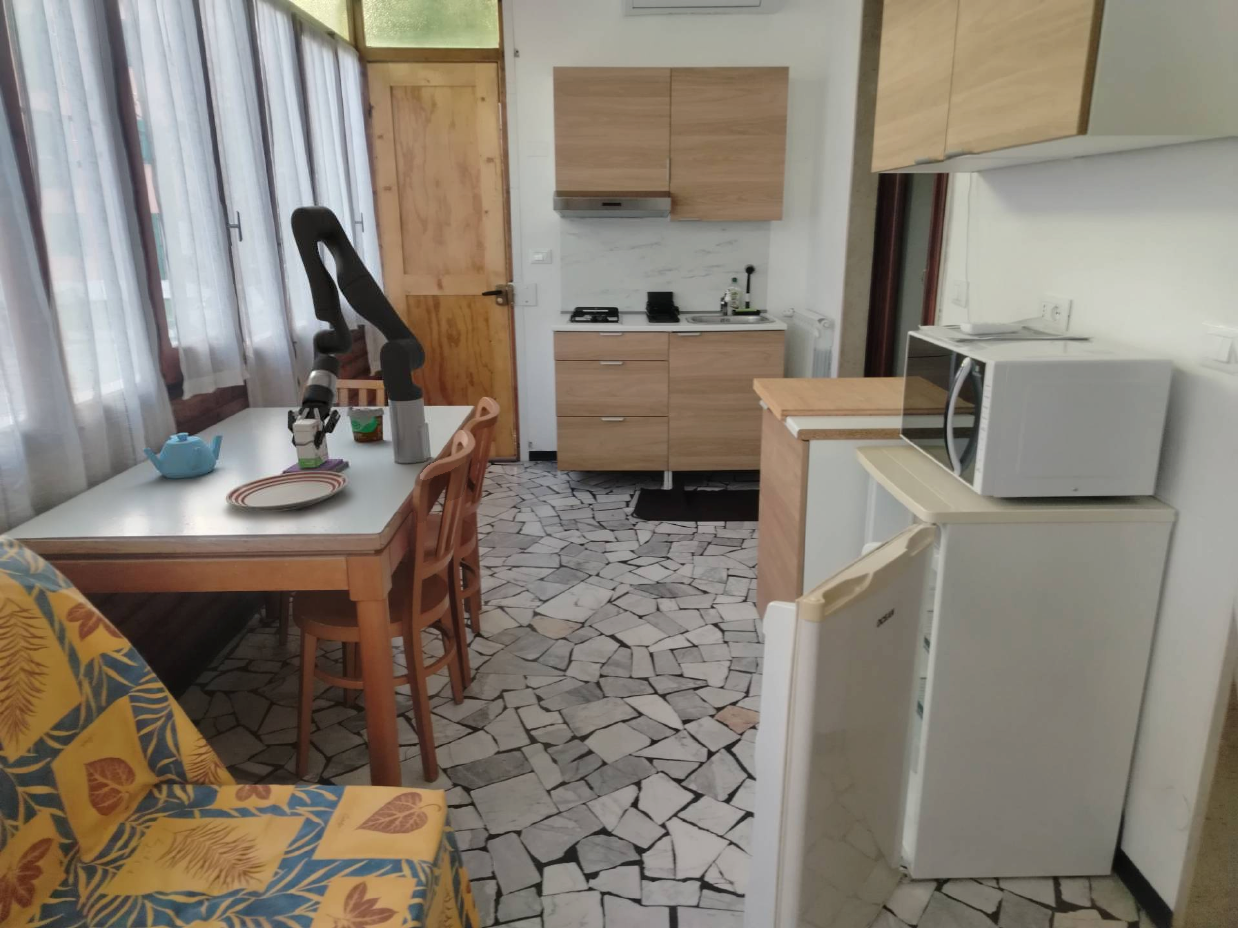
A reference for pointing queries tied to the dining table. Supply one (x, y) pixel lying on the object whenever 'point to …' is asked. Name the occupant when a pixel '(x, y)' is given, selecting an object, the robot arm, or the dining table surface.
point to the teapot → (186, 456)
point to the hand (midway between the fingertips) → (306, 445)
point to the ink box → (309, 444)
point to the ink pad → (320, 466)
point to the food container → (366, 424)
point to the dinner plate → (287, 490)
